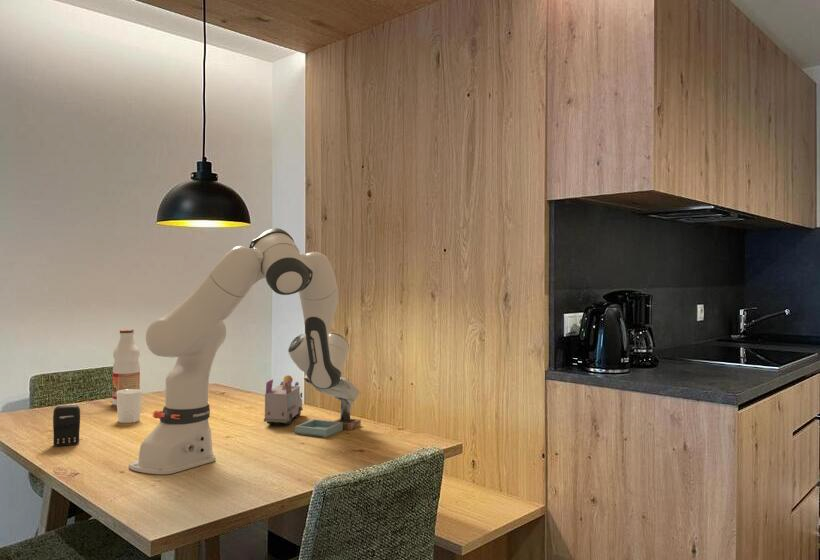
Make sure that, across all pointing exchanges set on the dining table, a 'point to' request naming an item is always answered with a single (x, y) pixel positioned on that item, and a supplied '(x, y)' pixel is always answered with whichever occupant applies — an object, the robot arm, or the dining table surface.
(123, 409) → the white cup
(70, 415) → the battery charger
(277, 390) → the toy vehicle
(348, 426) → the collar
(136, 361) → the fruit juice
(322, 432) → the tray
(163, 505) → the dining table surface
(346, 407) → the pin
